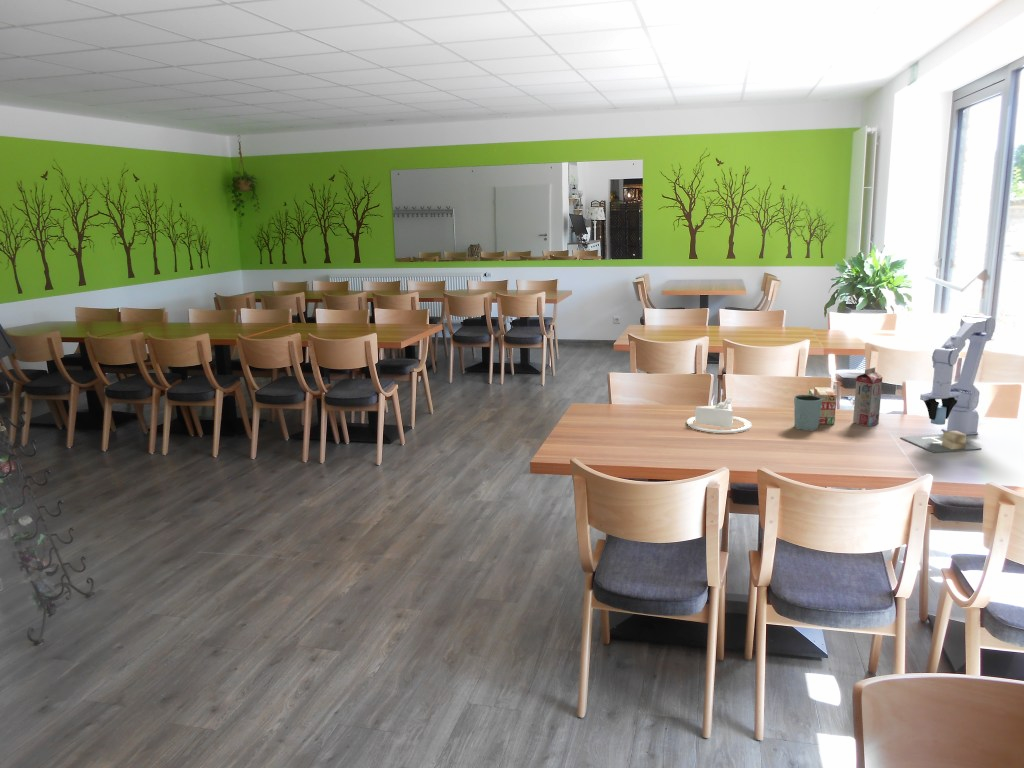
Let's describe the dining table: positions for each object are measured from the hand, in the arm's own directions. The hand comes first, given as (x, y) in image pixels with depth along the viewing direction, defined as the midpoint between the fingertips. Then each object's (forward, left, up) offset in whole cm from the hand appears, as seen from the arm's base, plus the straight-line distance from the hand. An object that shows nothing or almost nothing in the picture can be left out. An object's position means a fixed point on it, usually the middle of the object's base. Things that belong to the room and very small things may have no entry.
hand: (938, 418), depth 271 cm
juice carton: (+10, -27, -9) cm, 30 cm away
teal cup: (+35, -27, -9) cm, 45 cm away
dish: (+66, -38, -9) cm, 77 cm away
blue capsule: (0, 0, -2) cm, 2 cm away
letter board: (+1, +3, -8) cm, 9 cm away
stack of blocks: (+22, -39, -9) cm, 46 cm away
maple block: (0, +9, -8) cm, 12 cm away
